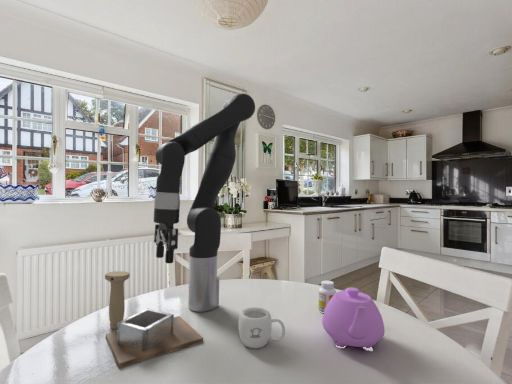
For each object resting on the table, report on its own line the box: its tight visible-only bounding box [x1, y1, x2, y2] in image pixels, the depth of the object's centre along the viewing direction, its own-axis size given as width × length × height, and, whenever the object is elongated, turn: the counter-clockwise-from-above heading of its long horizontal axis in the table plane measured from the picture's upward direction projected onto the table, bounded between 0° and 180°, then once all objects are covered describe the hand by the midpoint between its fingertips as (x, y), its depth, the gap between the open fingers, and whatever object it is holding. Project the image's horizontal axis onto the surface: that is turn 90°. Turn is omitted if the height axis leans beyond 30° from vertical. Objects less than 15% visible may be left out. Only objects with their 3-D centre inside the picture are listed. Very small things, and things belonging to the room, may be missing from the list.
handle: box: [104, 270, 131, 330], centre depth 83 cm, size 5×6×15 cm
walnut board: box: [105, 315, 204, 369], centre depth 76 cm, size 20×16×1 cm
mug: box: [238, 307, 286, 349], centre depth 75 cm, size 12×8×8 cm
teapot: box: [321, 286, 386, 348], centre depth 77 cm, size 22×16×14 cm
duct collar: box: [116, 307, 175, 352], centre depth 75 cm, size 10×9×5 cm
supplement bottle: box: [318, 280, 337, 313], centre depth 96 cm, size 5×5×10 cm
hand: (164, 260), depth 90 cm, fingers open, 8 cm apart
